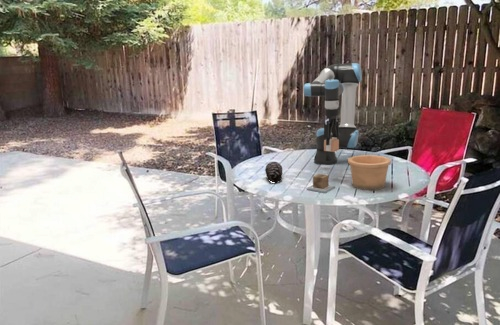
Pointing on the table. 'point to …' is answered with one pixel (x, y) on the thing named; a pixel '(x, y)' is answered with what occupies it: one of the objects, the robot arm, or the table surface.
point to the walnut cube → (320, 181)
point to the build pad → (321, 189)
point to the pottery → (369, 171)
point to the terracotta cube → (333, 145)
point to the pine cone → (274, 171)
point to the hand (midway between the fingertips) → (331, 149)
